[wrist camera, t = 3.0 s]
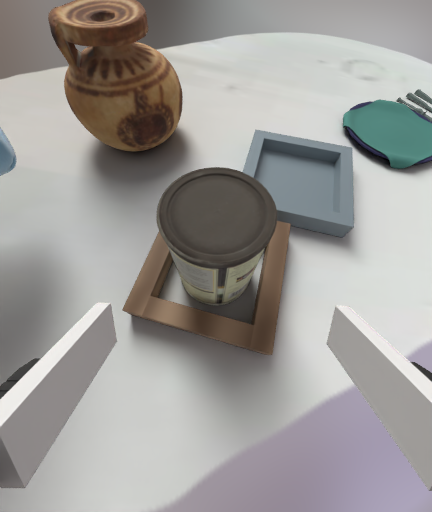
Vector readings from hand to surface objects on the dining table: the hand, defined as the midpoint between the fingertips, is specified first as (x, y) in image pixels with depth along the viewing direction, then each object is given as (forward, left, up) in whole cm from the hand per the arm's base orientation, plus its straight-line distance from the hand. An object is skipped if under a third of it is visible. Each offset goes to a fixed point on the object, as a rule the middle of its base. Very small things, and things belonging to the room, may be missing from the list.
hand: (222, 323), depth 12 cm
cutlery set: (+28, +53, -16) cm, 62 cm away
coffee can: (-3, +9, -16) cm, 18 cm away
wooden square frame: (-3, +9, -15) cm, 18 cm away
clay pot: (-26, +34, -16) cm, 46 cm away
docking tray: (+6, +29, -15) cm, 34 cm away
